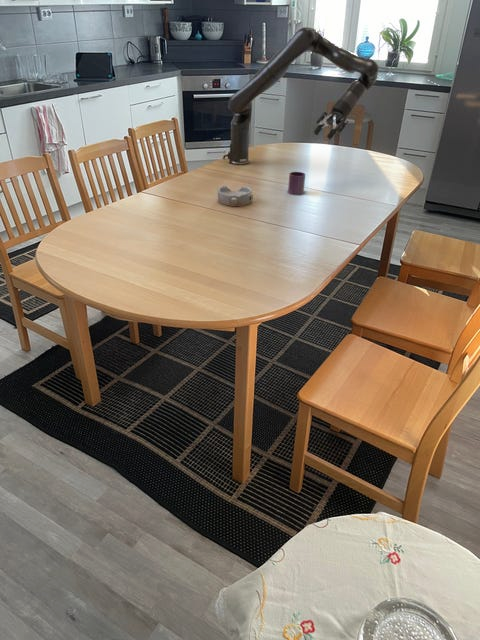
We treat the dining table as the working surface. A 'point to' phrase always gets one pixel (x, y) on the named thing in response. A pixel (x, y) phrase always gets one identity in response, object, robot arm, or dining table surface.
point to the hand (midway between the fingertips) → (321, 135)
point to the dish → (235, 196)
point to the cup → (296, 183)
